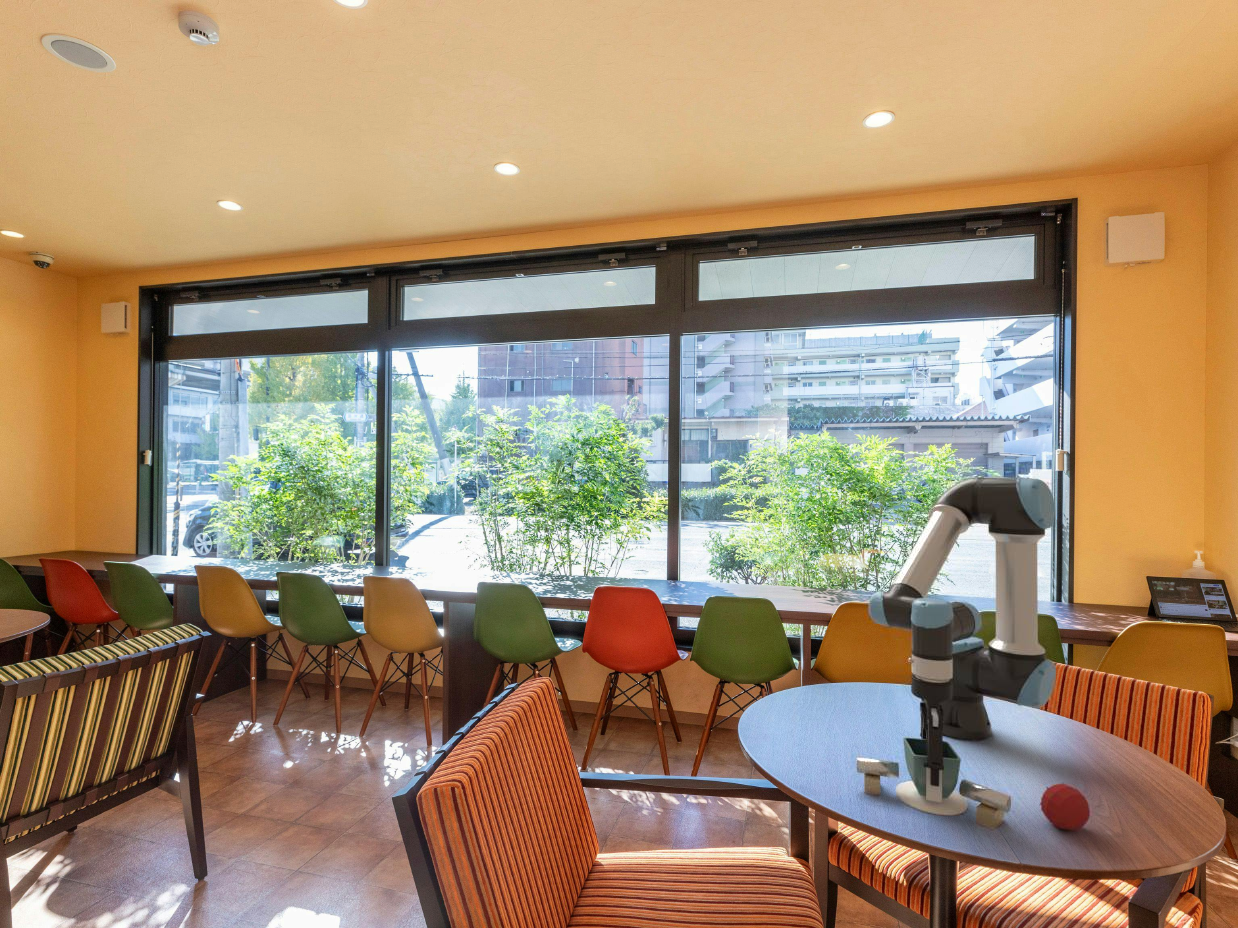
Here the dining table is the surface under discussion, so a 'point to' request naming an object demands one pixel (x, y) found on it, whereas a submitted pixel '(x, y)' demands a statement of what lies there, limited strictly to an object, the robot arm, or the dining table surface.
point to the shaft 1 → (876, 772)
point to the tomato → (1065, 807)
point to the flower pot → (918, 757)
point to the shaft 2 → (986, 803)
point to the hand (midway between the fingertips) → (931, 788)
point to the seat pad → (947, 807)
